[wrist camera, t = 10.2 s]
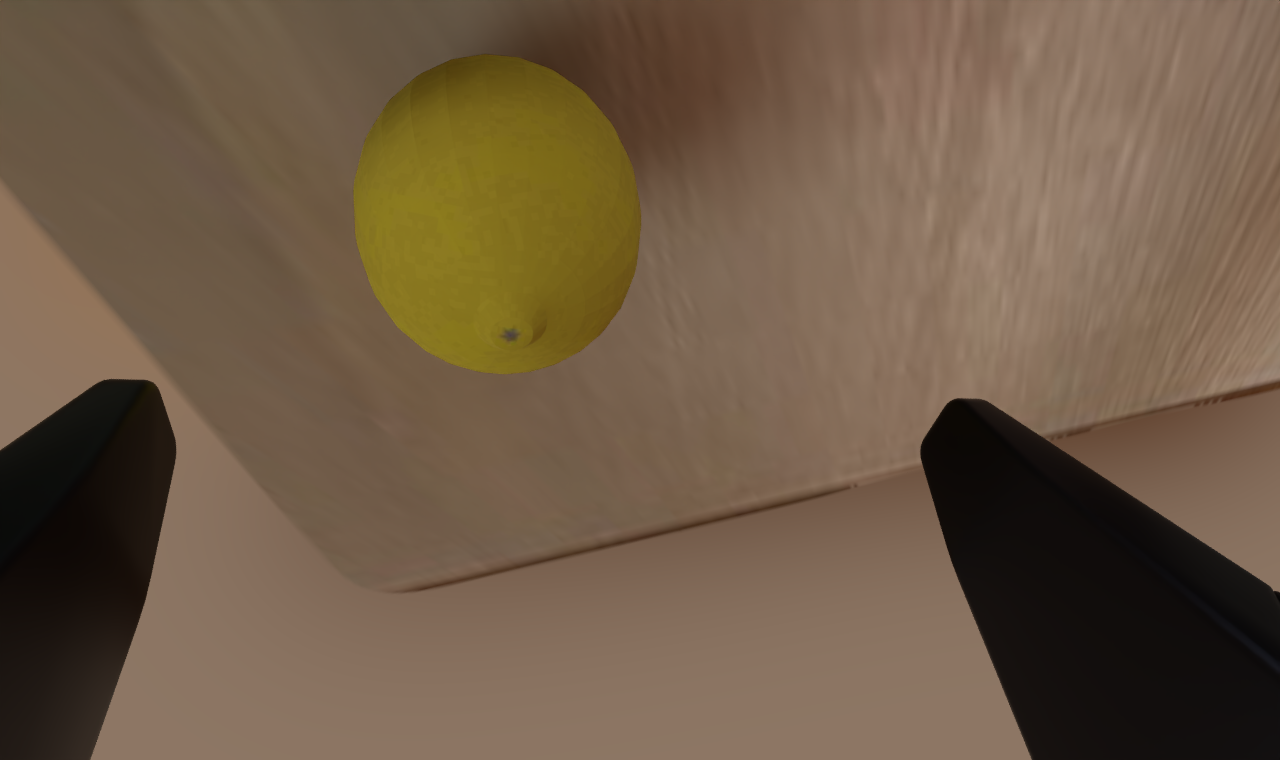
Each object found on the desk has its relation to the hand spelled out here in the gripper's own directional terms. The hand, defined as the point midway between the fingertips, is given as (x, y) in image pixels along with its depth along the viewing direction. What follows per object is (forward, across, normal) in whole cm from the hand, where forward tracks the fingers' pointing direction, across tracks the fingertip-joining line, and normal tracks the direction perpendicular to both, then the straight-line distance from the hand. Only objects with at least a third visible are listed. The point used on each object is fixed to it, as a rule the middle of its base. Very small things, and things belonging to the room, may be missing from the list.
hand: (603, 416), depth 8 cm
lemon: (+12, +1, +2) cm, 12 cm away
